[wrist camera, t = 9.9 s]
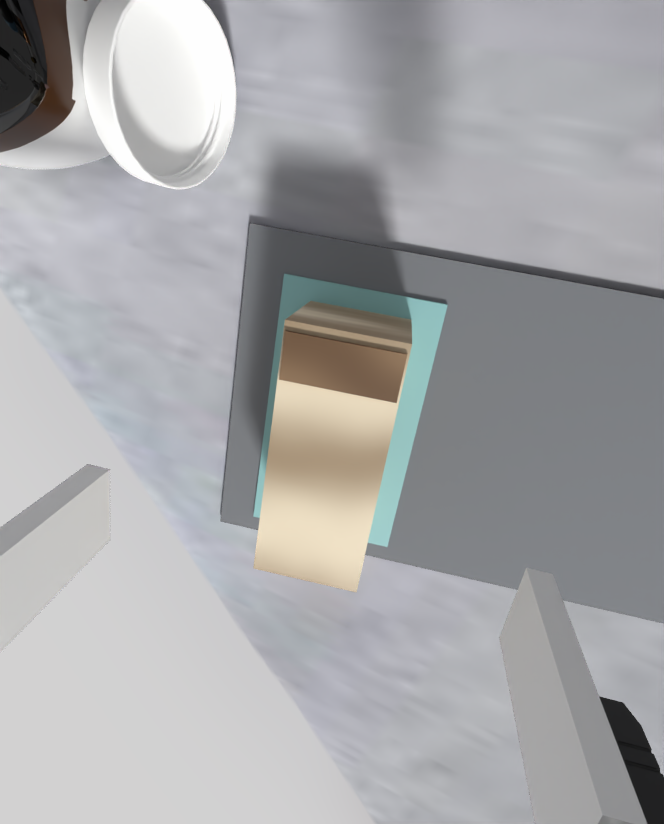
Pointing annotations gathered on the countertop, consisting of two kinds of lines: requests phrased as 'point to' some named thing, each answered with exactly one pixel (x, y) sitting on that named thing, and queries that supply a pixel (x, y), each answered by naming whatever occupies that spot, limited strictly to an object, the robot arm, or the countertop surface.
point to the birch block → (329, 440)
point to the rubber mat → (495, 420)
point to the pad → (419, 367)
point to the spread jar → (116, 87)
